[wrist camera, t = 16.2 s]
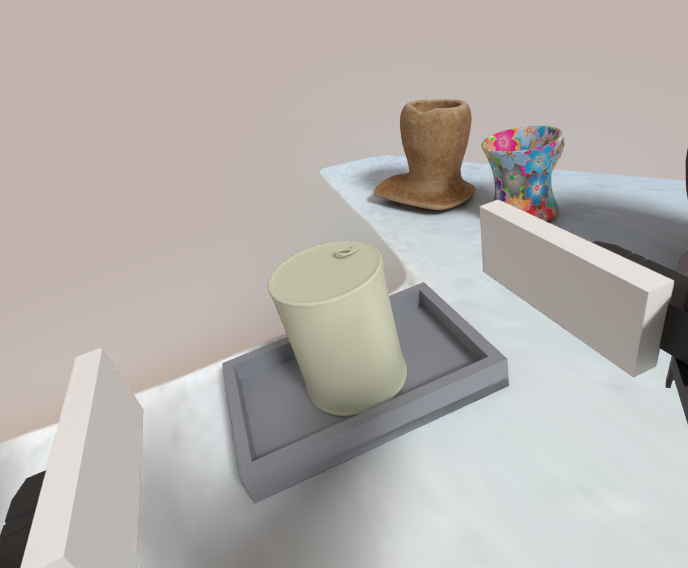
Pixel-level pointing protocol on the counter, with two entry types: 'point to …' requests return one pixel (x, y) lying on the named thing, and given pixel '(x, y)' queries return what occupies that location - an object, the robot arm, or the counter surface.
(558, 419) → the counter surface
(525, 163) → the mug
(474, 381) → the tray
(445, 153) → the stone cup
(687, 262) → the mate gourd
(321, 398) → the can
